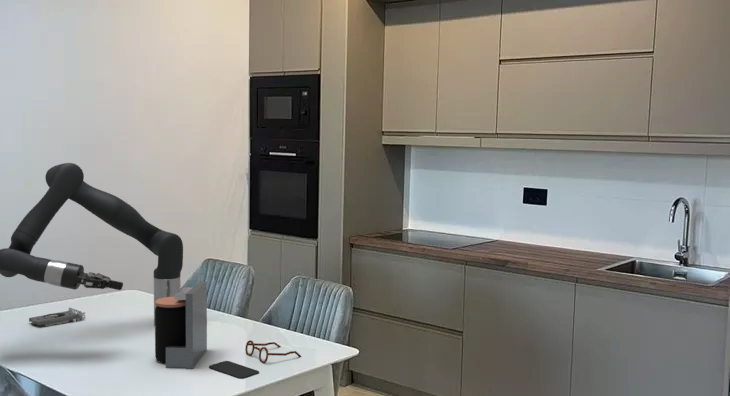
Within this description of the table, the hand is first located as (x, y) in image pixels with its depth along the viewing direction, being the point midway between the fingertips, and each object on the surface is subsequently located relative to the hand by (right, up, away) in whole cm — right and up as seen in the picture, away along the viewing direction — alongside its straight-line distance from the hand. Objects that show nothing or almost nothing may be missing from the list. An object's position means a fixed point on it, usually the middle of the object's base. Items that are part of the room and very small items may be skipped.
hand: (122, 286), depth 209 cm
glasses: (+46, -22, +3) cm, 51 cm away
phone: (+36, -23, -11) cm, 44 cm away
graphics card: (-38, -18, +39) cm, 57 cm away
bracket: (+20, -22, -2) cm, 30 cm away
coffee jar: (+16, -22, -2) cm, 27 cm away
